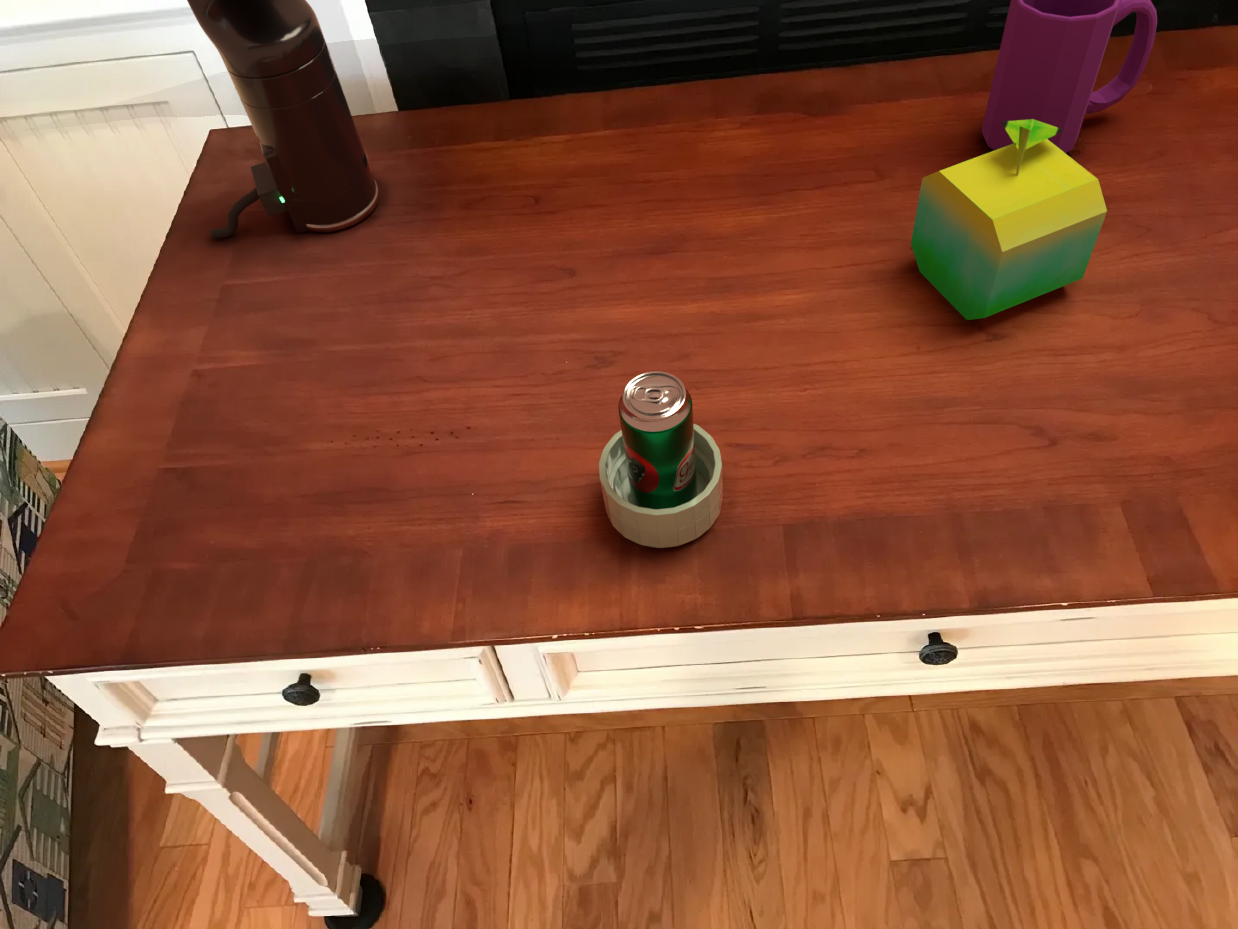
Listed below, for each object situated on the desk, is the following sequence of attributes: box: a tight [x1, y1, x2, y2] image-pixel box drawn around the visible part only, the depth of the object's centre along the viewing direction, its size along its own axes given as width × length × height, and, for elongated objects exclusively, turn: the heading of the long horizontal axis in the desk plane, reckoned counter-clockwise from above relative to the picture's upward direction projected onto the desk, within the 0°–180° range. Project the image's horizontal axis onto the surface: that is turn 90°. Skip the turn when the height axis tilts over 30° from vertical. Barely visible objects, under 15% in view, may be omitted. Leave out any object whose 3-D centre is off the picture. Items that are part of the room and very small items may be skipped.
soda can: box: [618, 370, 697, 510], centre depth 71 cm, size 5×5×12 cm
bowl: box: [598, 423, 724, 549], centre depth 74 cm, size 9×9×5 cm
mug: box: [981, 0, 1158, 154], centre depth 93 cm, size 9×16×15 cm, turn 106°
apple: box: [910, 119, 1108, 321], centre depth 82 cm, size 11×10×15 cm
